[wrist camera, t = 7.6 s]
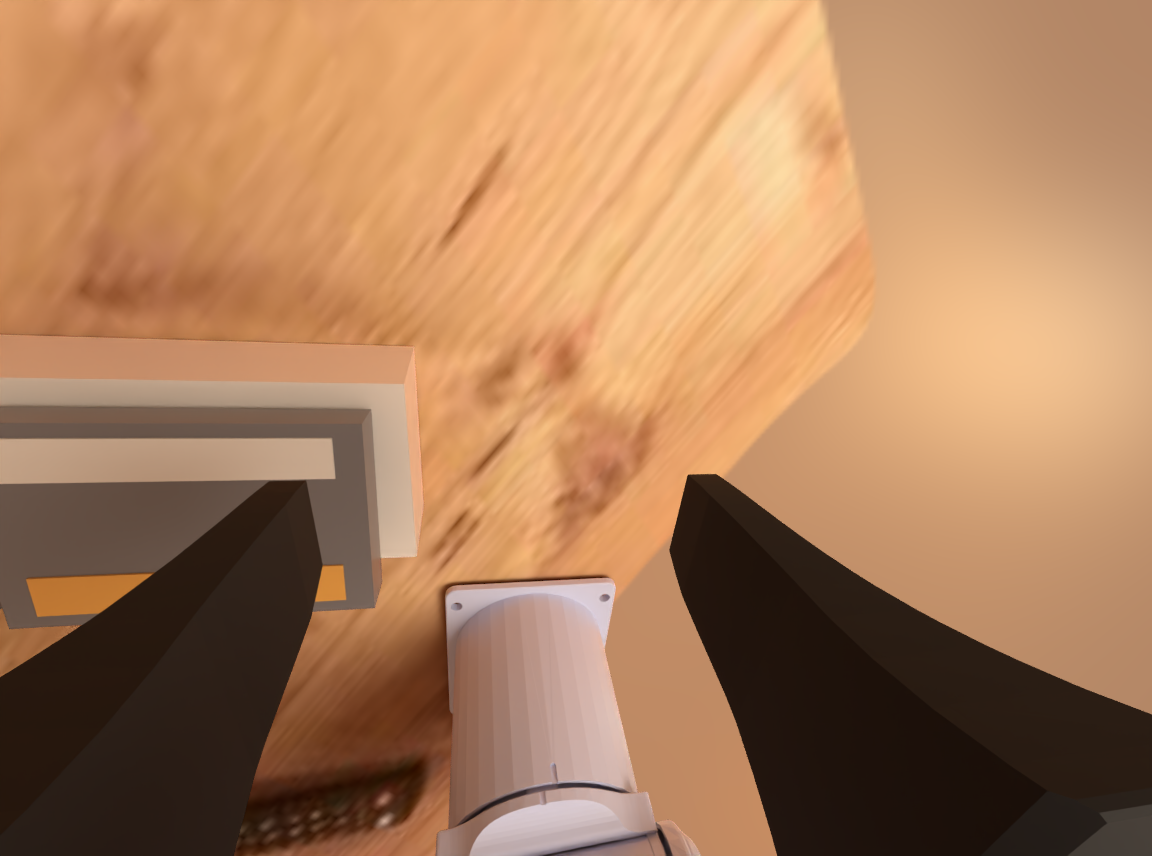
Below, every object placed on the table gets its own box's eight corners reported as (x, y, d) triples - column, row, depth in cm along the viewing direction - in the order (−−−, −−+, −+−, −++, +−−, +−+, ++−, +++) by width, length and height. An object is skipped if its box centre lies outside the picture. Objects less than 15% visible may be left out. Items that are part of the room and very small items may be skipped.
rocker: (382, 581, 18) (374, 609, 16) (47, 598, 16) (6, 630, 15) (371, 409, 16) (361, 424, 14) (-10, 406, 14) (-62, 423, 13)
